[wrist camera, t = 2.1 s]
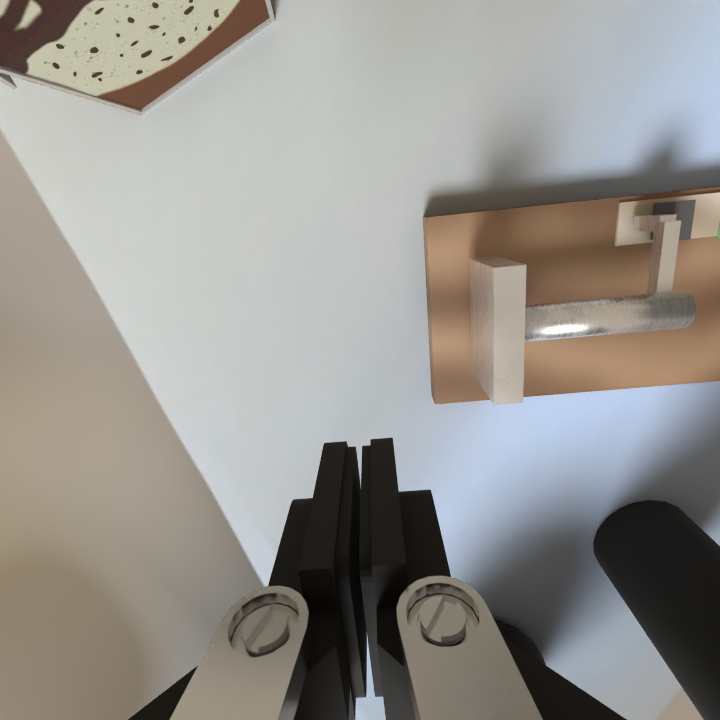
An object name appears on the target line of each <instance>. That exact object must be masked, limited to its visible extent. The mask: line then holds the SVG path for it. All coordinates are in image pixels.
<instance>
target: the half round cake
mask: <svg viewBox="0 0 720 720" xmlns="http://www.w3.org/2000/svg"><path fill="white" fill-rule="evenodd" d="M273 21H275V18H274V13H273V9H272V5H271V1H270V0H0V81H1V82H3V83H4V84H6V85H8V86H9V87H11V88H12V89H15V88H16V85H15V84H14V82H13V80H12V79H11V77H10V76H14V77H17V78H20V79H23V80H27V81H30V82H33V83H37V84H40V85H43V86H47V87H50V88H53V89H57V90H60V91H63V92H67V93H70V94H73V95H77V96H80V97H83V98H87V99H90V100H93V101H96V102H100V103H103V104H106V105H110V106H113V107H116V108H120V109H123V110H126V111H130V112H133V113H136V114H140V115H142V114H144V113H145V112H147V111H148V110H149V109H151V108H152V107H154V106H155V105H156V104H158V103H159V102H161V101H162V100H163V99H165V98H166V97H168V96H169V95H170V94H172V93H173V92H175V91H176V90H178V89H179V88H180V87H182V86H183V85H185V84H186V83H187V82H189V81H190V80H192V79H193V78H194V77H196V76H197V75H199V74H200V73H201V72H203V71H204V70H206V69H207V68H208V67H210V66H211V65H213V64H214V63H216V62H217V61H218V60H220V59H221V58H223V57H224V56H225V55H227V54H228V53H230V52H231V51H232V50H234V49H235V48H237V47H238V46H239V45H241V44H242V43H244V42H245V41H247V40H248V39H249V38H251V37H252V36H254V35H255V34H256V33H258V32H259V31H261V30H262V29H263V28H265V27H266V26H268V25H269V24H270V23H272V22H273Z"/></svg>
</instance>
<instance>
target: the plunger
mask: <svg viewBox="0 0 720 720" xmlns="http://www.w3.org/2000/svg"><path fill="white" fill-rule="evenodd" d="M676 216H677V214H664V215H643V216H635V220H634V230H633V231H645V232H654V234H653V243H652V251H651V260H650V269H649V277H648V286H647V294H640V295H629V296H618V297H608V298H597V299H586V300H575V301H565V302H554V303H543V304H532V305H526V264H522V263H519V262H515V261H512V260H508V259H504V258H501V257H497V256H491V257H481V258H471V259H469V260H470V317H471V372H472V373H473V375H474V376H475V378H476V379H477V381H478V382H479V384H480V385H481V387H482V388H483V390H484V391H485V393H486V394H487V396H488V397H489V398H490V400H491V401H492V403H493V404H494V405H497V404H509V403H522V402H523V387H524V346H525V342H531V341H542V340H553V339H565V338H576V337H587V336H599V335H610V334H621V333H632V332H644V331H655V330H666V329H678V328H686V327H688V326H690V325H691V324H692V323H693V321H694V319H695V317H696V312H697V306H696V302H695V299H694V297H693V296H692V295H691V294H690V293H689V292H687V291H672V287H673V279H674V272H675V264H676V257H677V249H678V242H679V234H680V227H681V220H676Z"/></svg>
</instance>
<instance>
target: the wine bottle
mask: <svg viewBox="0 0 720 720" xmlns="http://www.w3.org/2000/svg"><path fill="white" fill-rule="evenodd" d="M594 554H595V556H596V558H597V560H598V562H599V564H600V565H601V567H602V568H603V570H604V571H605V573H606V574H607V576H608V577H609V579H610V580H611V582H612V583H613V585H614V586H615V588H616V589H617V591H618V592H619V594H620V595H621V597H622V598H623V600H624V601H625V603H626V604H627V606H628V607H629V609H630V610H631V612H632V613H633V615H634V616H635V618H636V619H637V621H638V622H639V624H640V625H641V627H642V628H643V630H644V631H645V633H646V634H647V636H648V637H649V639H650V640H651V642H652V643H653V645H654V646H655V647H656V649H657V650H658V652H659V653H660V655H661V656H662V658H663V659H664V661H665V662H666V664H667V665H668V667H669V668H670V670H671V671H672V673H673V674H674V676H675V677H676V679H677V680H678V682H679V683H680V685H681V686H682V688H683V689H684V691H685V692H686V694H687V695H688V697H689V698H690V700H691V701H692V703H693V704H694V705H695V707H696V708H697V710H698V711H699V713H700V715H701V716H702V718H703V719H704V720H720V546H719V545H718V544H717V543H716V542H715V541H714V540H712V539H711V538H710V537H709V536H708V535H707V534H706V533H705V532H704V531H703V530H702V529H701V528H700V527H698V526H697V525H696V524H695V523H694V522H693V521H692V520H691V519H690V518H689V517H688V516H687V515H686V514H684V513H683V512H682V511H681V510H680V509H679V508H678V507H676V506H674V505H671V504H669V503H666V502H661V501H650V500H649V501H643V502H637V503H632V504H630V505H628V506H625V507H623V508H621V509H618V510H617V511H616V512H614V513H613V514H612V515H611V516H609V517H608V518H607V519H606V520H605V521H604V522H603V524H602V525H601V526H600V528H599V529H598V530H597V533H596V536H595V539H594Z"/></svg>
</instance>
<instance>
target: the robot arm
mask: <svg viewBox="0 0 720 720" xmlns="http://www.w3.org/2000/svg"><path fill="white" fill-rule="evenodd" d="M367 636H368V644H369V652H370V660H371V668H372V676H373V684H374V692H375V697H379V696H383V698H384V706H385V715H386V720H626V719H625V718H623V717H622V716H620V715H619V714H617V713H616V712H614V711H613V710H611V709H610V708H608V707H607V706H605V705H604V704H602V703H601V702H599V701H598V700H596V699H595V698H593V697H592V696H590V695H589V694H587V693H586V692H584V691H583V690H581V689H580V688H578V687H577V686H576V685H574V684H573V683H571V682H570V681H568V680H567V679H565V678H564V677H562V676H561V675H559V674H558V673H556V672H555V671H553V670H552V669H550V668H549V667H547V666H546V665H544V664H543V663H541V662H540V661H538V660H537V659H535V658H534V657H532V656H531V655H529V654H528V653H526V652H525V651H523V650H522V649H520V648H519V647H517V646H516V645H514V644H513V643H511V642H510V641H508V640H507V639H505V638H504V637H502V635H501V633H500V631H499V629H498V627H497V625H496V623H495V621H494V619H493V617H492V615H491V612H490V610H489V608H488V606H487V604H486V603H485V601H484V600H483V598H482V597H481V595H480V594H479V593H478V592H477V591H476V590H475V589H474V588H472V587H471V586H470V585H469V584H467V583H465V582H463V581H461V580H458V579H456V578H452V577H451V575H450V570H449V566H448V562H447V557H446V553H445V549H444V544H443V540H442V536H441V531H440V527H439V523H438V519H437V514H436V510H435V506H434V501H433V497H432V493H431V490H418V491H405V492H398V483H397V474H396V464H395V455H394V446H393V438H383V439H371V445H369V446H362V475H361V487H360V478H359V469H358V461H357V452H356V447H348V445H347V442H346V441H345V442H332V443H324V446H323V451H322V456H321V461H320V466H319V470H318V475H317V480H316V485H315V490H314V495H313V498H308V499H294V500H293V501H292V503H291V506H290V509H289V513H288V516H287V520H286V524H285V527H284V531H283V535H282V538H281V542H280V545H279V549H278V553H277V556H276V560H275V563H274V567H273V571H272V574H271V578H270V581H269V585H268V586H267V587H264V588H261V589H258V590H255V591H252V592H251V593H249V594H247V595H246V596H244V597H242V598H241V599H240V600H239V601H237V602H236V603H235V604H234V605H233V606H232V607H231V608H230V609H229V611H228V612H227V614H226V615H225V617H224V618H223V620H222V621H221V623H220V625H219V627H218V629H217V631H216V633H215V635H214V637H213V638H212V641H211V642H210V644H209V646H208V648H207V650H206V652H205V654H204V656H203V657H202V659H201V662H200V663H199V665H198V666H197V667H195V668H194V669H193V670H192V671H190V672H189V673H188V674H186V675H185V676H184V677H183V678H181V679H180V680H179V681H177V682H176V683H175V684H174V685H172V686H171V687H170V688H169V689H167V690H166V691H165V692H163V693H162V694H161V695H159V696H158V697H157V698H155V699H154V700H153V701H152V702H150V703H149V704H148V705H146V706H145V707H144V708H142V709H141V710H140V711H139V712H137V713H136V714H135V715H134V716H132V717H131V718H130V719H128V720H355V706H356V698H358V697H366V672H367Z"/></svg>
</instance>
